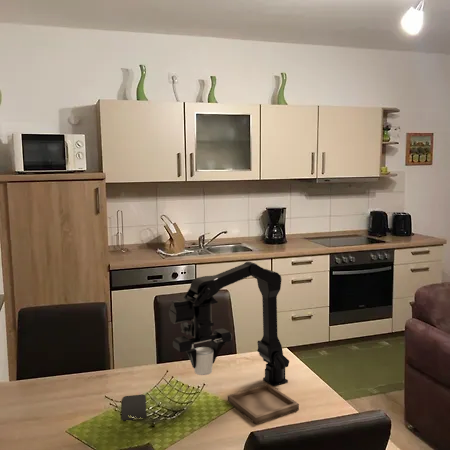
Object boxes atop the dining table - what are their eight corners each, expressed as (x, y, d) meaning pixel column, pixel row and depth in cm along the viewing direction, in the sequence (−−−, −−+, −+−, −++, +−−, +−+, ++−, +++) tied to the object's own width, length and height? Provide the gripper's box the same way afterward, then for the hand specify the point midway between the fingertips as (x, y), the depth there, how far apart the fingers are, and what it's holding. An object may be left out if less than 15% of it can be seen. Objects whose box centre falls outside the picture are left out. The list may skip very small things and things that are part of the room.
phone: (121, 420, 141) (122, 396, 156) (121, 423, 141) (122, 398, 156) (146, 417, 143) (145, 394, 157) (146, 420, 143) (145, 396, 157)
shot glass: (211, 376, 149) (211, 355, 148) (190, 375, 150) (189, 353, 149) (216, 367, 155) (215, 347, 155) (195, 366, 157) (195, 345, 156)
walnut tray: (268, 389, 161) (268, 383, 161) (298, 409, 147) (298, 403, 147) (227, 401, 153) (227, 395, 152) (255, 424, 139) (255, 417, 139)
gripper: (215, 307, 162) (216, 351, 164) (164, 316, 153) (166, 363, 155) (232, 315, 153) (233, 362, 155) (179, 326, 143) (181, 375, 145)
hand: (203, 365), depth 152 cm, fingers closed on shot glass, 6 cm apart
